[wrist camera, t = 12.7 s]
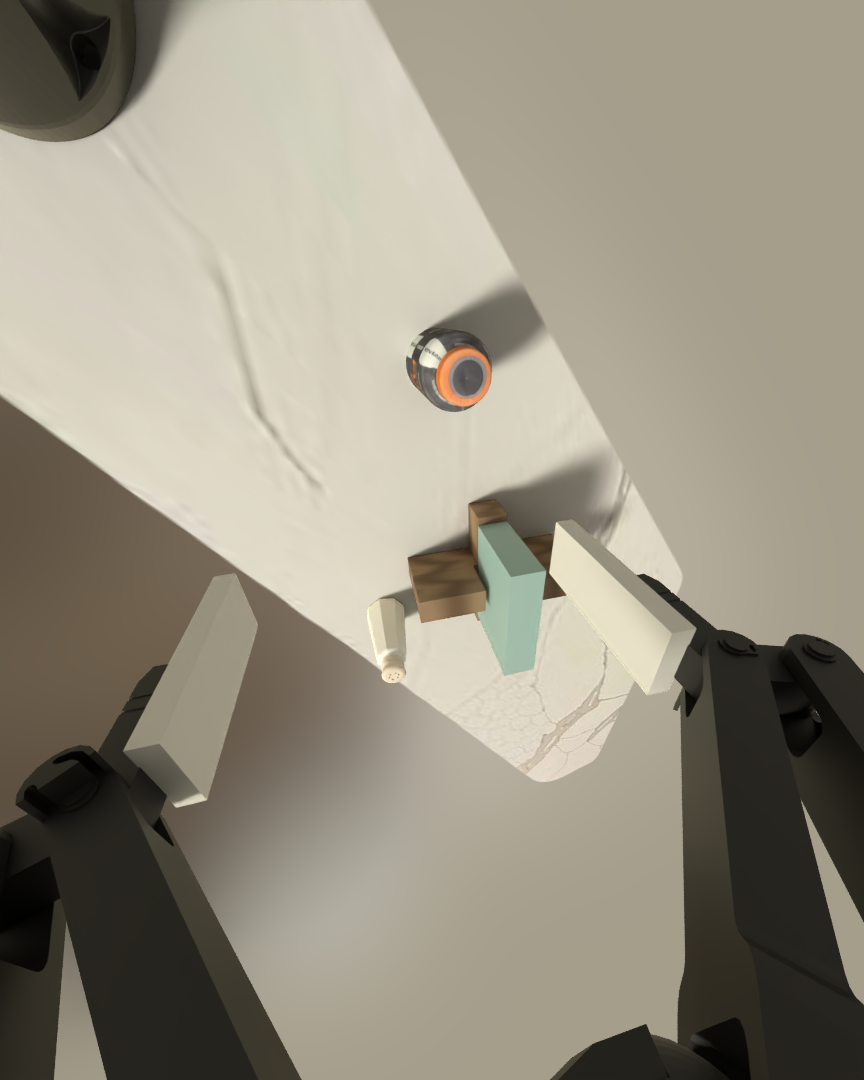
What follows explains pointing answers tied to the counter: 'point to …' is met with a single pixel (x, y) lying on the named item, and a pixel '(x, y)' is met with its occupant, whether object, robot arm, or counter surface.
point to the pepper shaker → (388, 637)
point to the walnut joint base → (468, 571)
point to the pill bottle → (449, 368)
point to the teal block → (510, 596)
